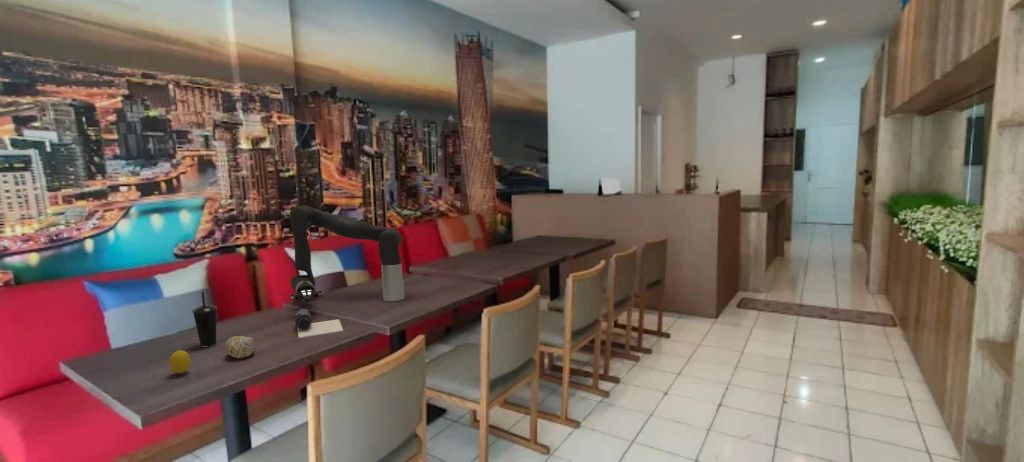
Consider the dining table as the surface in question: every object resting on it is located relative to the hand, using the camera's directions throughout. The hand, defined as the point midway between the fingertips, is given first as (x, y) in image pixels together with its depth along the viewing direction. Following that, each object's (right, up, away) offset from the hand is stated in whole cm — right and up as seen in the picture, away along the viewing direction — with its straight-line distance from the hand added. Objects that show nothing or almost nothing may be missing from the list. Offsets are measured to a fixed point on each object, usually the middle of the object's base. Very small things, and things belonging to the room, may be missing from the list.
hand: (308, 300), depth 207 cm
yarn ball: (-9, -15, -33) cm, 38 cm away
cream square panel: (+8, -10, -8) cm, 15 cm away
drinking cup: (-27, -13, -23) cm, 38 cm away
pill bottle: (-1, -6, -3) cm, 7 cm away
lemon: (-21, -17, -48) cm, 55 cm away
